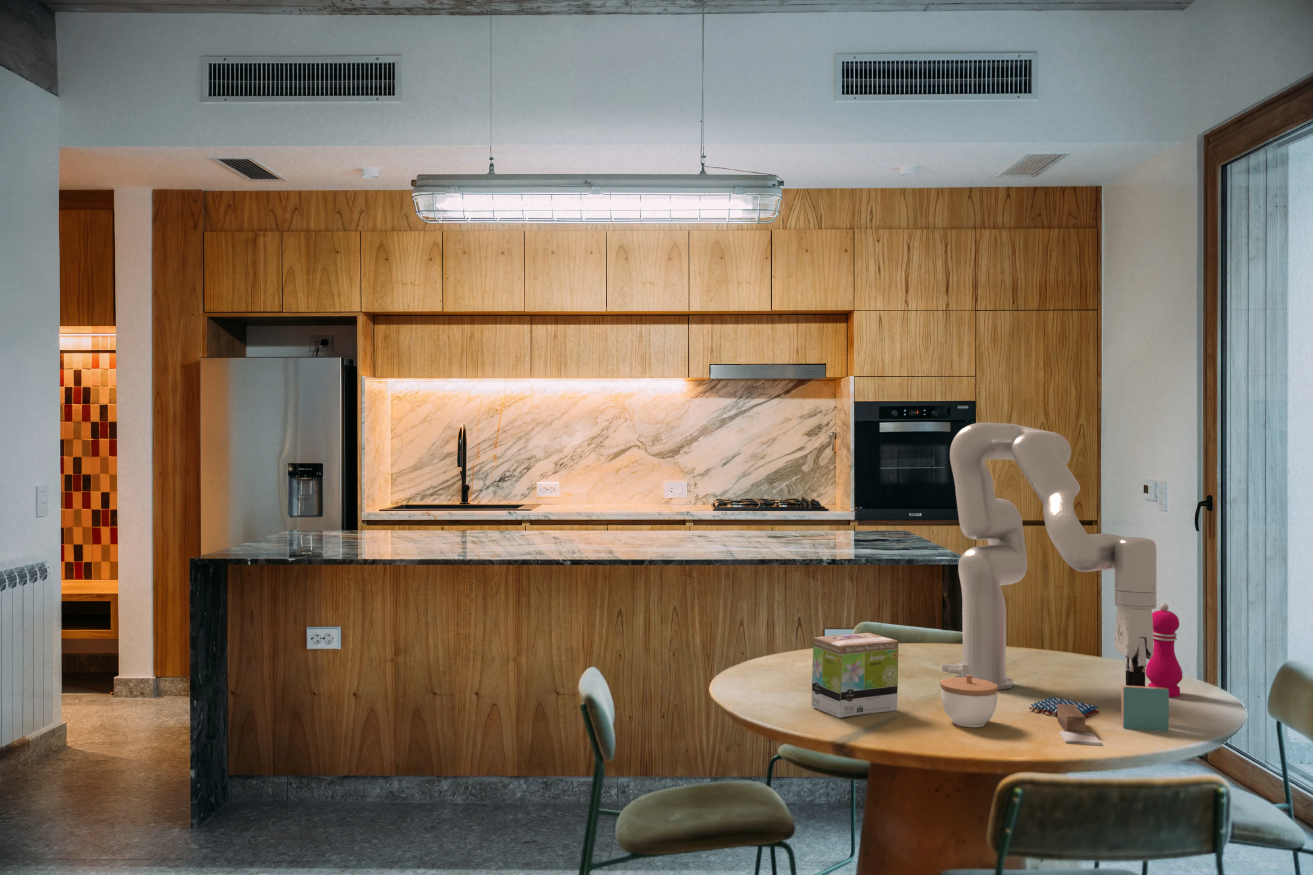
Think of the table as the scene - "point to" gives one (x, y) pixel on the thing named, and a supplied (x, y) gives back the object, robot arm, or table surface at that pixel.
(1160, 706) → the tile
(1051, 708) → the woven mat
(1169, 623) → the pepper mill
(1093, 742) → the turner
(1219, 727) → the table surface
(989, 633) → the robot arm
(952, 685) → the lidded jar
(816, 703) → the tea box
